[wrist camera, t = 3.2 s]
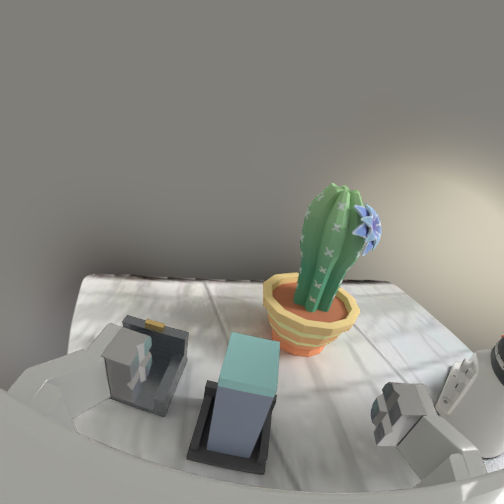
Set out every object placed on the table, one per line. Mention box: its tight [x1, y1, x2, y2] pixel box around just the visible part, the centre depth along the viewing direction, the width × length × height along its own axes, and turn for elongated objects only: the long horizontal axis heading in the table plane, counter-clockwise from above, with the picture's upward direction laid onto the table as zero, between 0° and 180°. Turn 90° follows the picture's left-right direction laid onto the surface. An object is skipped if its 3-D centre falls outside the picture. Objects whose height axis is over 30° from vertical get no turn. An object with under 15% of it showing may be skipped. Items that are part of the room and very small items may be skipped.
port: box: [109, 315, 189, 417], centre depth 34 cm, size 10×8×6 cm
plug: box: [206, 332, 280, 458], centre depth 27 cm, size 6×4×12 cm
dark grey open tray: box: [187, 380, 277, 474], centre depth 29 cm, size 9×8×4 cm
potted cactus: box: [263, 183, 381, 357], centre depth 44 cm, size 15×15×25 cm
